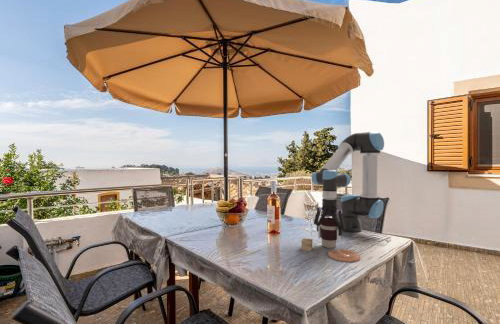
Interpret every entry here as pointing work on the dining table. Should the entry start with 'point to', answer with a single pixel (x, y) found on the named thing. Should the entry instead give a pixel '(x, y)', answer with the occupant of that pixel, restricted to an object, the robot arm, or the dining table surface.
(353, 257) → the saucer
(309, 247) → the tan cube
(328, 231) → the coffee cup
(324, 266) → the dining table surface
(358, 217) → the robot arm
